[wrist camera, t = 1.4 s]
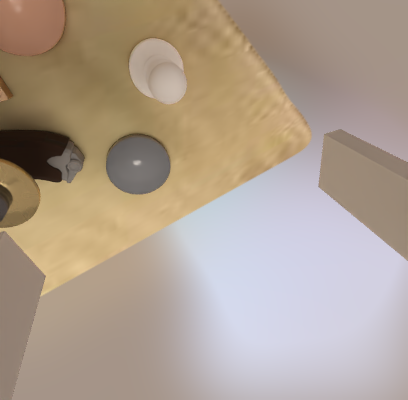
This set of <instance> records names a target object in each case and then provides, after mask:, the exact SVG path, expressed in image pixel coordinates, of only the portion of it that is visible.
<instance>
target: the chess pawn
mask: <svg viewBox="0 0 408 400" xmlns="http://www.w3.org/2000/svg"><path fill="white" fill-rule="evenodd" d="M129 71H130V76H131V79H132V81H133V83H134V85H135V86H136V88H137V89H138V90H139V91H140V92H141V93H143V94H144V95H146V96H148V97H150V98H155V99H157V100H158V101H159V102H161V103H164V104H174V103H176V102H178V101H179V100H181V99H182V98H183V96H184V95H185V92H186V89H187V79H186V76H185V74H184V68H183V62H182V59H181V56H180V55H179V53H178V51H177V50H176V49H175V48H174V47H173V46H172V45H171V44H170V43H168V42H166V41H164V40H162V39H157V38H149V39H145V40H143V41H141V42H140V43H138V44H137V45H136V46H135V47H134V49H133V51H132V52H131V55H130V58H129Z"/></svg>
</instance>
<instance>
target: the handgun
mask: <svg viewBox="0 0 408 400" xmlns="http://www.w3.org/2000/svg"><path fill="white" fill-rule="evenodd" d="M0 159H4V160H7V161H9V162H12V163H14V164H16V165H18V166H19V167H21V168H22V169H24V170H25V171H26V172H28V173H29V174H30V175H31V176H32V178H33V179H41V180H48V181H52V182H61V181H62V180H65V181H67V183H70V182H71V181H72V180H73V178H74V177H75V175H76V173H77V172H79V171H81V169H82V167H83V162H84V156H83V154H82V153H81V152H80V151H79V149H78V148H77V147H75V146H74V142H71V141H69V138H68V137H65V136H62V135H59V134H55V133H52V132H47V131H36V130H10V131H0Z"/></svg>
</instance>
